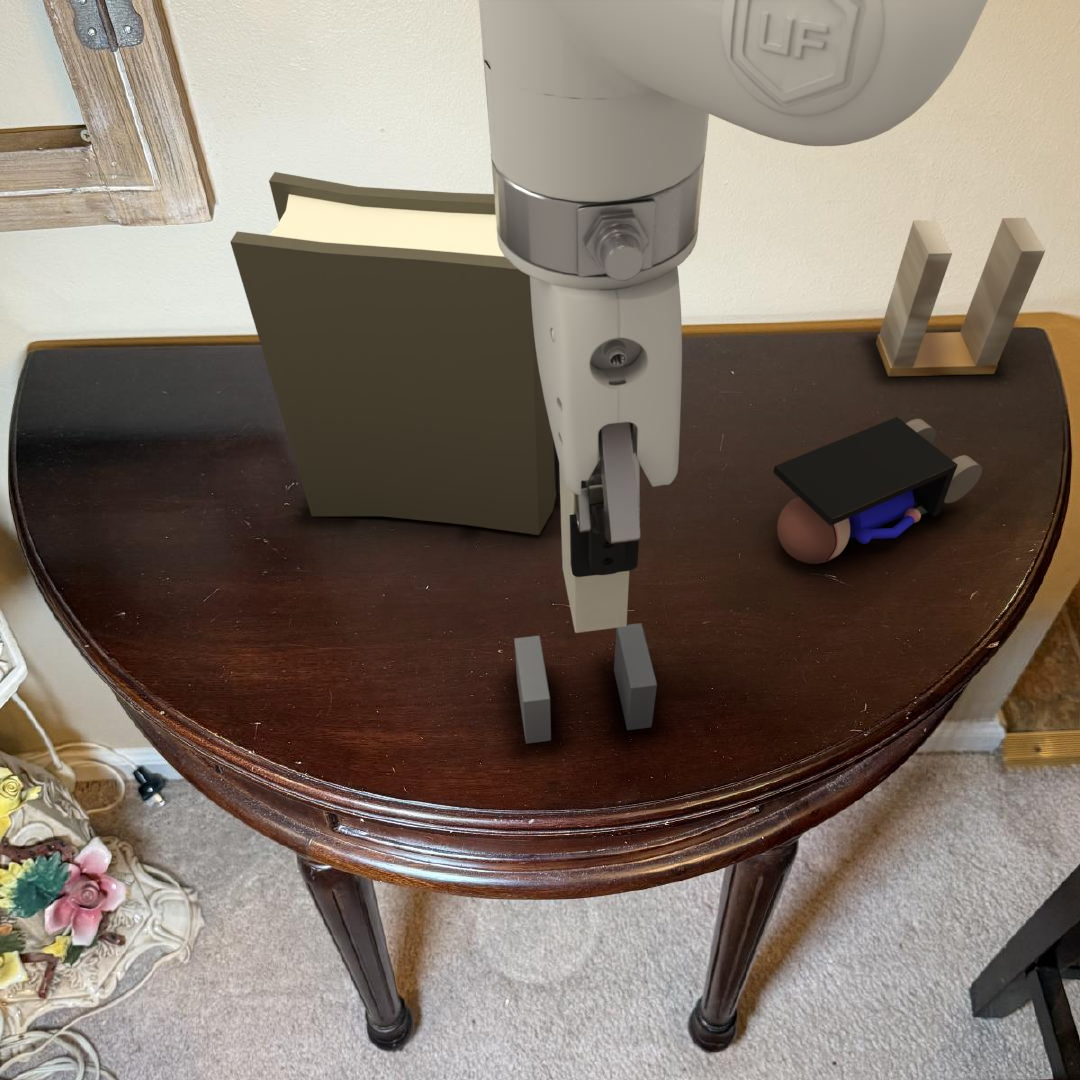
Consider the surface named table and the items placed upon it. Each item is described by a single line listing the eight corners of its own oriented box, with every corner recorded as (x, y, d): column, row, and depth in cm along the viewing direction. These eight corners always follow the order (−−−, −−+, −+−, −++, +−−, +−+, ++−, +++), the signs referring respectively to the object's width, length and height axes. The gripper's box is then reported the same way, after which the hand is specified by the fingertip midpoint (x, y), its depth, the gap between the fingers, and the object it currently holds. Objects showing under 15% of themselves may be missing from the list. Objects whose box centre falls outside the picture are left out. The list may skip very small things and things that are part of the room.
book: (562, 465, 77) (561, 189, 59) (548, 540, 72) (542, 263, 54) (340, 444, 79) (274, 171, 61) (311, 516, 74) (230, 241, 56)
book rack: (977, 340, 86) (1026, 217, 77) (994, 374, 83) (1047, 250, 74) (875, 342, 86) (911, 220, 77) (887, 376, 83) (927, 253, 74)
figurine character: (895, 473, 77) (748, 532, 71) (930, 397, 72) (774, 454, 66) (958, 527, 73) (808, 595, 67) (1000, 451, 68) (841, 517, 62)
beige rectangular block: (611, 561, 55) (615, 415, 47) (626, 626, 52) (634, 483, 44) (562, 567, 55) (557, 422, 47) (575, 633, 52) (572, 490, 44)
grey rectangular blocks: (637, 666, 64) (641, 622, 61) (651, 727, 61) (657, 684, 58) (517, 681, 64) (513, 638, 60) (525, 744, 61) (523, 702, 57)
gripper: (763, 324, 30) (708, 656, 44) (650, 84, 41) (634, 410, 55) (523, 351, 30) (543, 678, 44) (474, 102, 41) (502, 425, 55)
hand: (594, 526), depth 49 cm, fingers closed on beige rectangular block, 4 cm apart
